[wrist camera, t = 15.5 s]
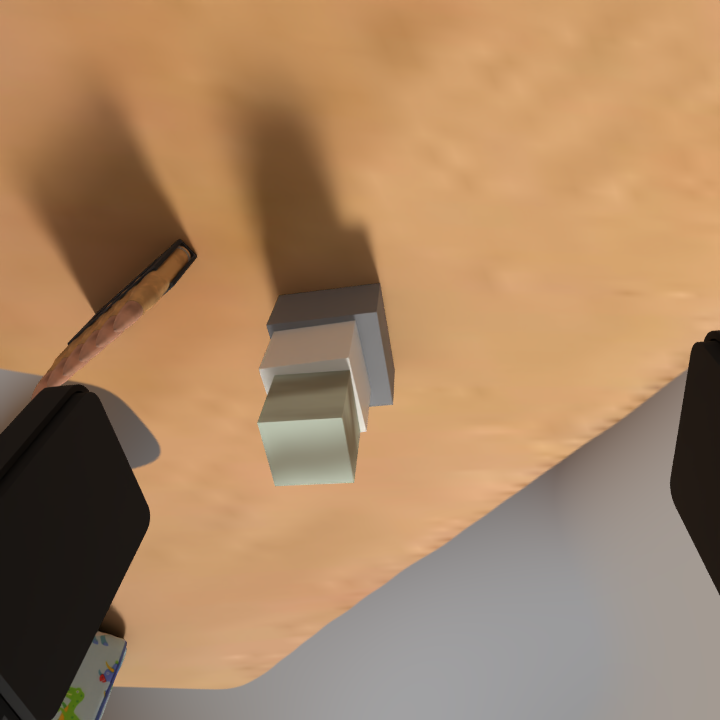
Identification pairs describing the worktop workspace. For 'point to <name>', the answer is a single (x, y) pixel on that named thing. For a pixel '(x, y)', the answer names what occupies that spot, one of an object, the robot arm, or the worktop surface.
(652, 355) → the worktop surface
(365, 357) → the tower base
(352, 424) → the sage block
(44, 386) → the ammunition clip
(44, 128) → the worktop surface
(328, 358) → the tower top
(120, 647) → the lunch box
